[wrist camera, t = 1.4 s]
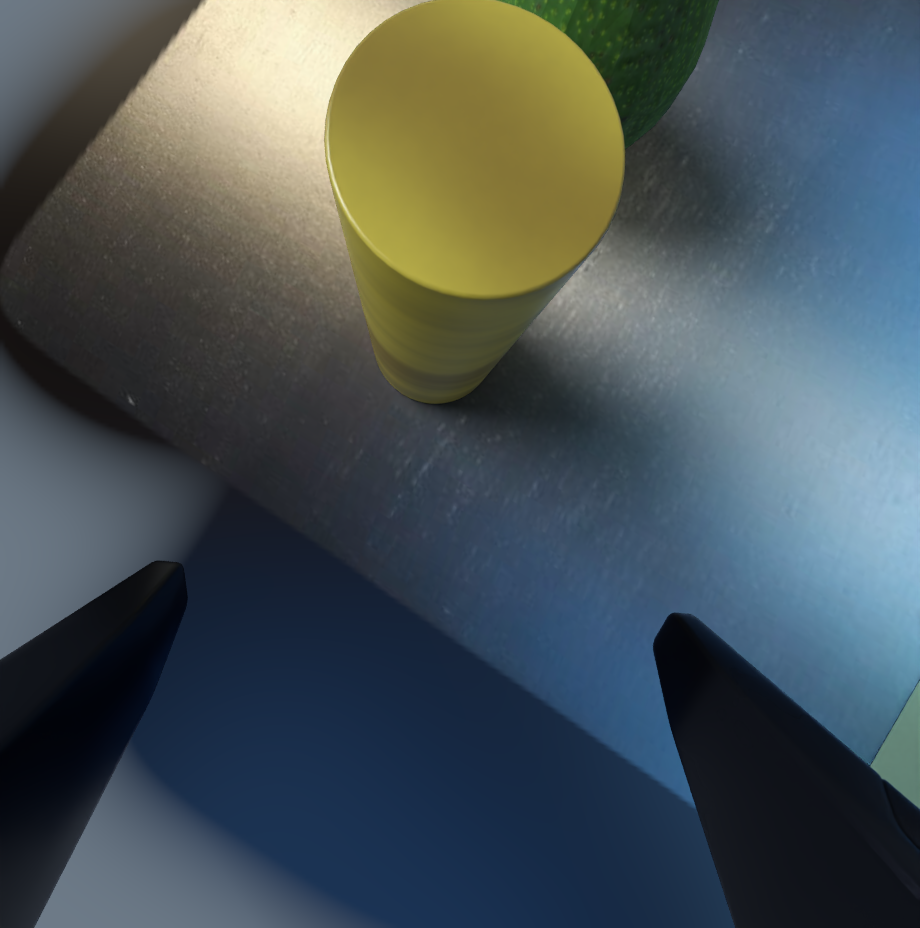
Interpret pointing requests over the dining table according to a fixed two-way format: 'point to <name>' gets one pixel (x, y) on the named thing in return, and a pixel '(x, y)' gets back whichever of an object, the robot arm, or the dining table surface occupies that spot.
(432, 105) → the yellow tumbler
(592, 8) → the fruit
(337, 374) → the dining table surface
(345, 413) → the dining table surface
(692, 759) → the robot arm
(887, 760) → the green block
